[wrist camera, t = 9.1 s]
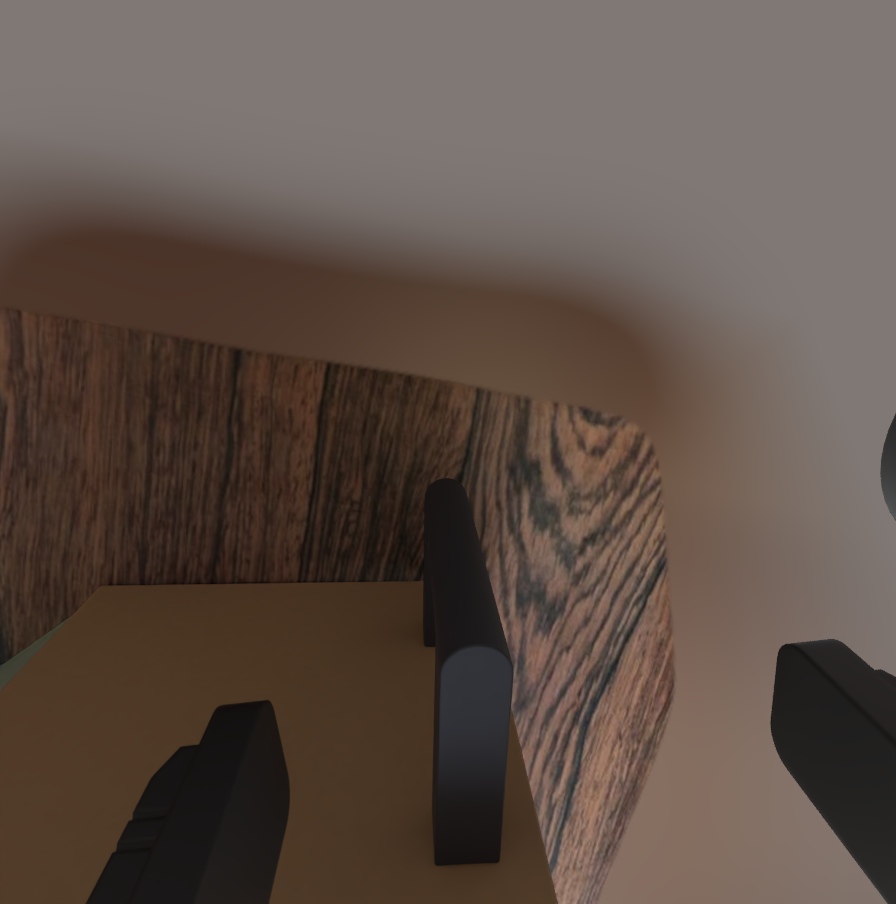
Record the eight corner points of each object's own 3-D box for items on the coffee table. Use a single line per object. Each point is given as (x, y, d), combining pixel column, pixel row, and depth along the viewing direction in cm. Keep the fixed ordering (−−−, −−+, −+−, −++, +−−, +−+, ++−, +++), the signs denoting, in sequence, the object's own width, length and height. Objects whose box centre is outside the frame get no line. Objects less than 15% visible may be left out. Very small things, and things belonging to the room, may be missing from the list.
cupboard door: (75, 449, 24) (-604, 825, 8) (487, 450, 25) (631, 775, 9) (103, 604, 26) (-377, 1143, 10) (479, 598, 27) (584, 1067, 11)
